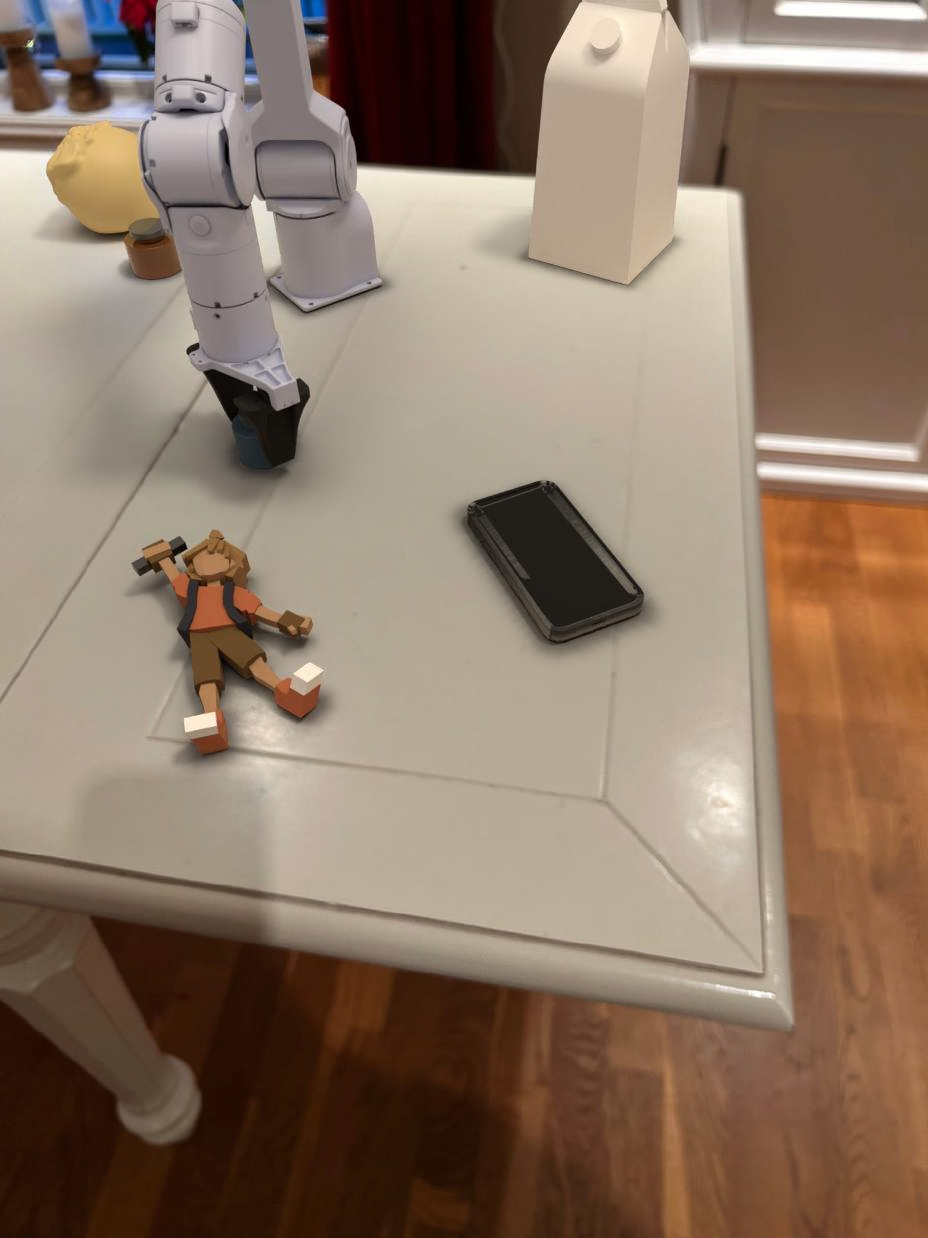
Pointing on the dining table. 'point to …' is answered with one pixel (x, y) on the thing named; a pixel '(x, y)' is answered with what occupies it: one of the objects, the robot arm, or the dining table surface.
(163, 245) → the brown cup
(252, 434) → the slate bottle
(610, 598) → the phone
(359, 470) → the dining table surface
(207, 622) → the character figurine
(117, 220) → the sculpture
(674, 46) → the milk
